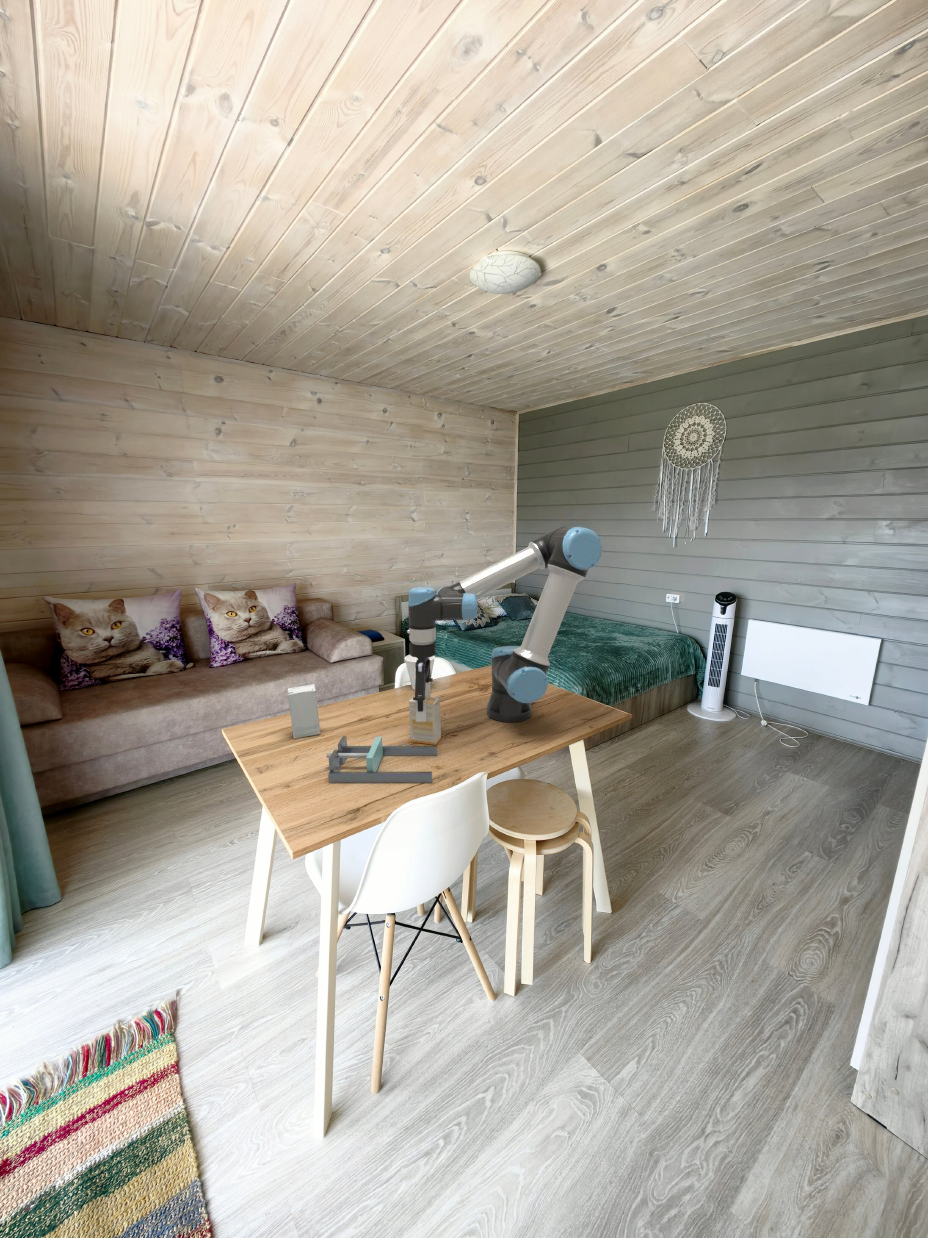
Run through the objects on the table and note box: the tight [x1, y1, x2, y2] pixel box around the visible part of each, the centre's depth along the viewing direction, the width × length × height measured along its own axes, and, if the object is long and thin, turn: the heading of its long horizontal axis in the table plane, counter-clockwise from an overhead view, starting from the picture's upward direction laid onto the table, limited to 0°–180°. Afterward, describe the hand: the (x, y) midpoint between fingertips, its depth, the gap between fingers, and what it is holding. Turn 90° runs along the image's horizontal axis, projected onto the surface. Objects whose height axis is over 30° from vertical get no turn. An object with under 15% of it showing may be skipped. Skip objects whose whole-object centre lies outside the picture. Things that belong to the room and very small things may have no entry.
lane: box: [328, 735, 438, 784], centre depth 127 cm, size 26×15×6 cm, turn 88°
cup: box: [404, 654, 436, 691], centre depth 187 cm, size 12×12×12 cm
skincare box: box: [287, 683, 321, 740], centre depth 147 cm, size 8×6×15 cm
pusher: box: [326, 736, 384, 772], centre depth 127 cm, size 14×12×6 cm
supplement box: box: [408, 695, 442, 746], centre depth 142 cm, size 8×5×13 cm, turn 71°
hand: (423, 711), depth 141 cm, fingers open, 13 cm apart
